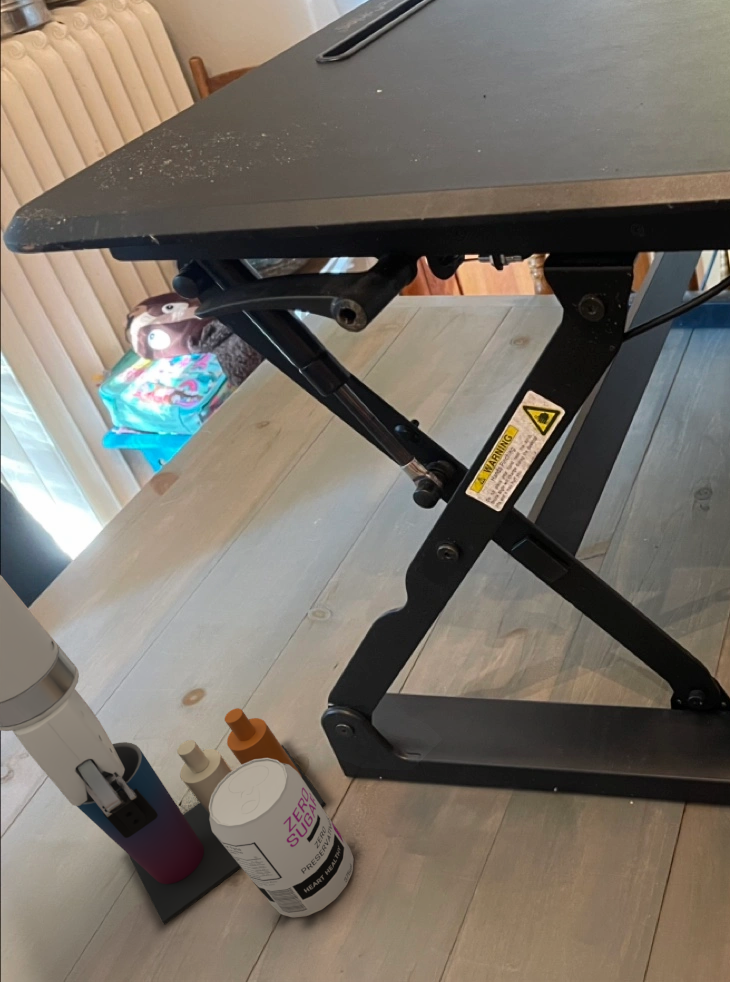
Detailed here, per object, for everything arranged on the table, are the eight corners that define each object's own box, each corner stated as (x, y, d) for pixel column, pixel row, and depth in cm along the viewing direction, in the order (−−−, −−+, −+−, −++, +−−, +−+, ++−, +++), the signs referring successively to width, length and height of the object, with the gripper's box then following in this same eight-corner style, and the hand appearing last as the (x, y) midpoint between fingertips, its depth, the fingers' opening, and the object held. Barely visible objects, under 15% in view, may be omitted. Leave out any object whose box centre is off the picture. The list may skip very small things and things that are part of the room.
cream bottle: (229, 841, 109) (173, 771, 102) (215, 819, 111) (159, 749, 104) (265, 815, 111) (212, 745, 103) (250, 793, 113) (198, 723, 106)
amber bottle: (273, 809, 111) (221, 738, 104) (259, 787, 114) (207, 717, 106) (308, 784, 113) (259, 713, 106) (293, 763, 116) (244, 692, 108)
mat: (164, 924, 103) (162, 922, 103) (130, 856, 110) (127, 853, 110) (326, 804, 111) (324, 801, 111) (284, 747, 118) (282, 744, 118)
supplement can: (271, 864, 106) (202, 775, 97) (352, 830, 108) (291, 739, 99) (274, 935, 100) (200, 847, 91) (360, 897, 102) (295, 807, 93)
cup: (133, 896, 105) (52, 808, 96) (160, 835, 111) (85, 747, 102) (199, 888, 105) (123, 799, 96) (222, 827, 110) (153, 737, 101)
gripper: (-41, 662, 95) (68, 780, 106) (2, 768, 84) (119, 889, 95) (44, 613, 99) (141, 732, 109) (96, 709, 87) (199, 831, 98)
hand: (130, 804), depth 102 cm, fingers closed on cup, 6 cm apart
